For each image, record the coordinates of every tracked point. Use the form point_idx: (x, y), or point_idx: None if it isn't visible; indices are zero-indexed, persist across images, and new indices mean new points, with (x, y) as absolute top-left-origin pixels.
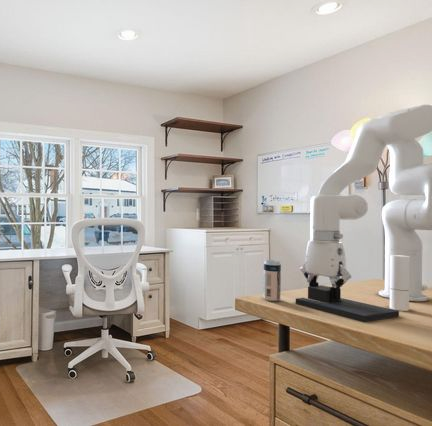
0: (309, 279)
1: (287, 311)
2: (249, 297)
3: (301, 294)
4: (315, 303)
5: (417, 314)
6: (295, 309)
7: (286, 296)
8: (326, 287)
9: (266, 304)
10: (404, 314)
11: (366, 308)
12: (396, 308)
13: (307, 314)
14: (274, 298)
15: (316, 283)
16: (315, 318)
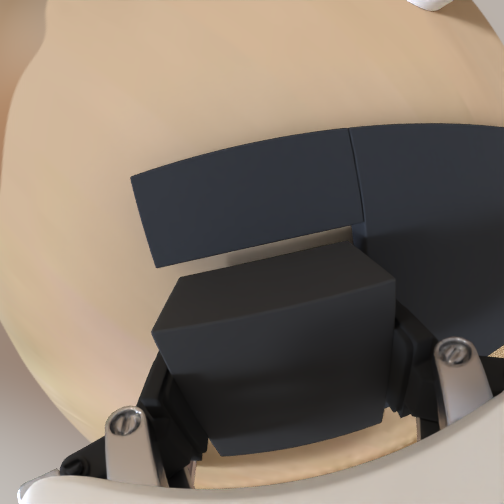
0: (167, 477)
1: (331, 468)
2: None
3: (15, 247)
4: None
5: (478, 23)
6: (320, 451)
7: (73, 363)
8: (281, 369)
9: (234, 481)
10: (487, 65)
11: (496, 243)
12: (436, 8)
13: (381, 440)
14: (194, 468)
15: (182, 418)
16: (415, 433)
